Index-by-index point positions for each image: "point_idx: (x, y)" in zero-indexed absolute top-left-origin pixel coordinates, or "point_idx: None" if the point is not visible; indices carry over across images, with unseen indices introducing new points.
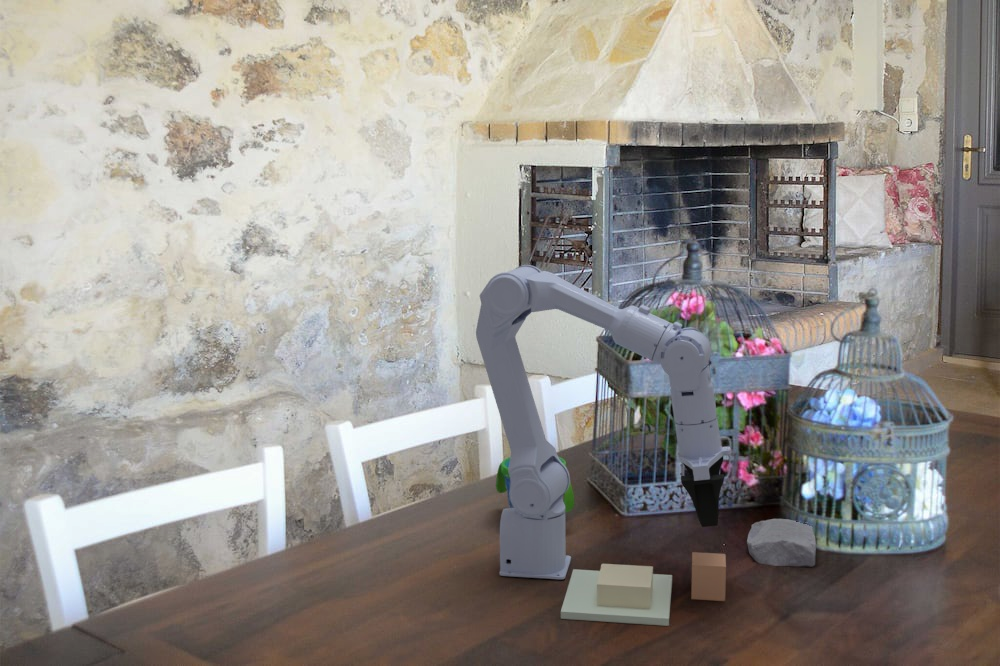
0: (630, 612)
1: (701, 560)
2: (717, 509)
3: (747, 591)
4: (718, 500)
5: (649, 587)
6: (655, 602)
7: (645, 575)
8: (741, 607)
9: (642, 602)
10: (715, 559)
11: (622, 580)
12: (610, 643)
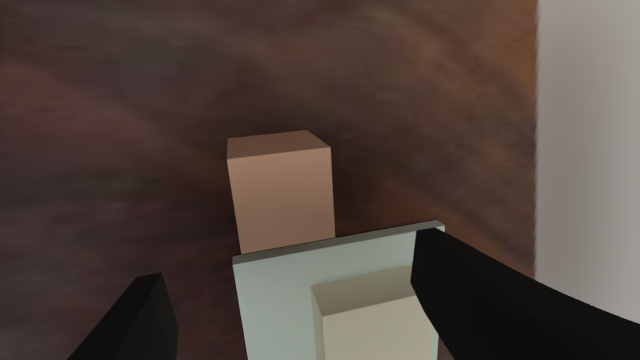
0: None
1: (298, 219)
2: (506, 267)
3: (236, 79)
4: (569, 296)
5: None
6: (382, 263)
7: (375, 316)
8: (333, 90)
9: None
10: (282, 183)
11: (407, 347)
12: None
